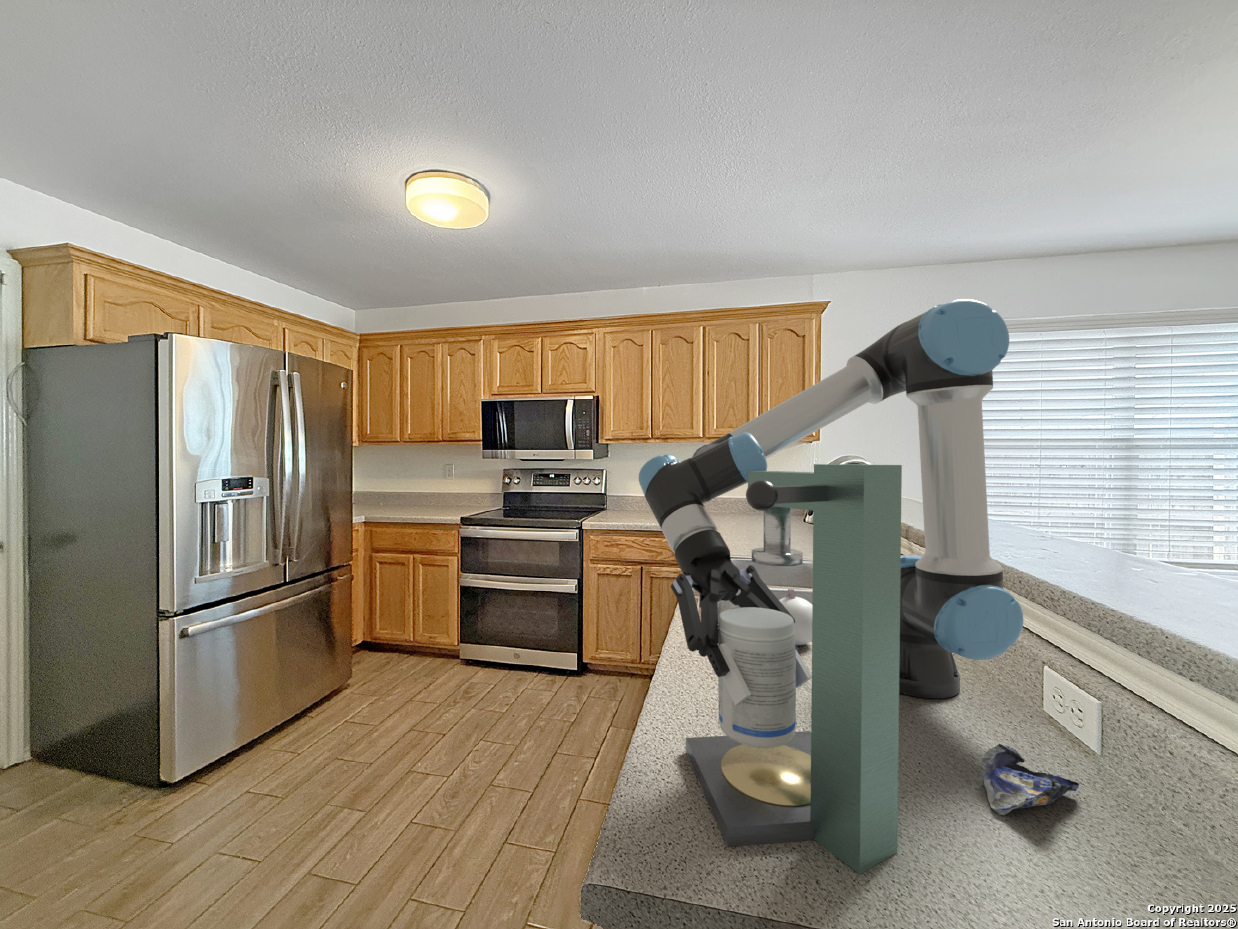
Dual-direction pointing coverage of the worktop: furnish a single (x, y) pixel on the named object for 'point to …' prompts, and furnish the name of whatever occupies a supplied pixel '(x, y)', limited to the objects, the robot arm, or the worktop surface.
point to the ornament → (799, 616)
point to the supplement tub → (760, 676)
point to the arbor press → (827, 676)
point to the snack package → (1020, 780)
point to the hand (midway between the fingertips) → (774, 691)
